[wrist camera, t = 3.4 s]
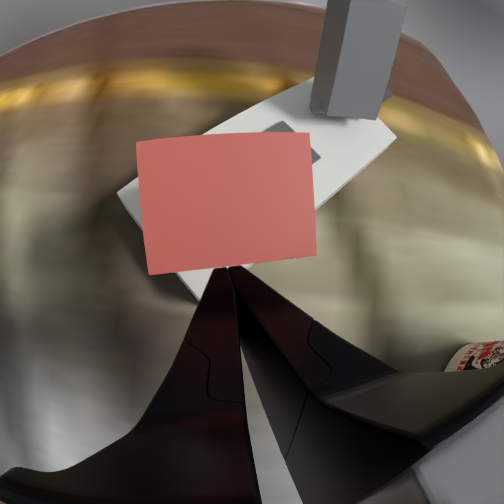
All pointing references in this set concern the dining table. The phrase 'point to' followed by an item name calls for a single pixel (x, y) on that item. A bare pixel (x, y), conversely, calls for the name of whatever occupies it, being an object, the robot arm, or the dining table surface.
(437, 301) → the dining table surface
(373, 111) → the block
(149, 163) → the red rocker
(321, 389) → the robot arm
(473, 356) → the teacup with lid
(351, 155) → the power strip
